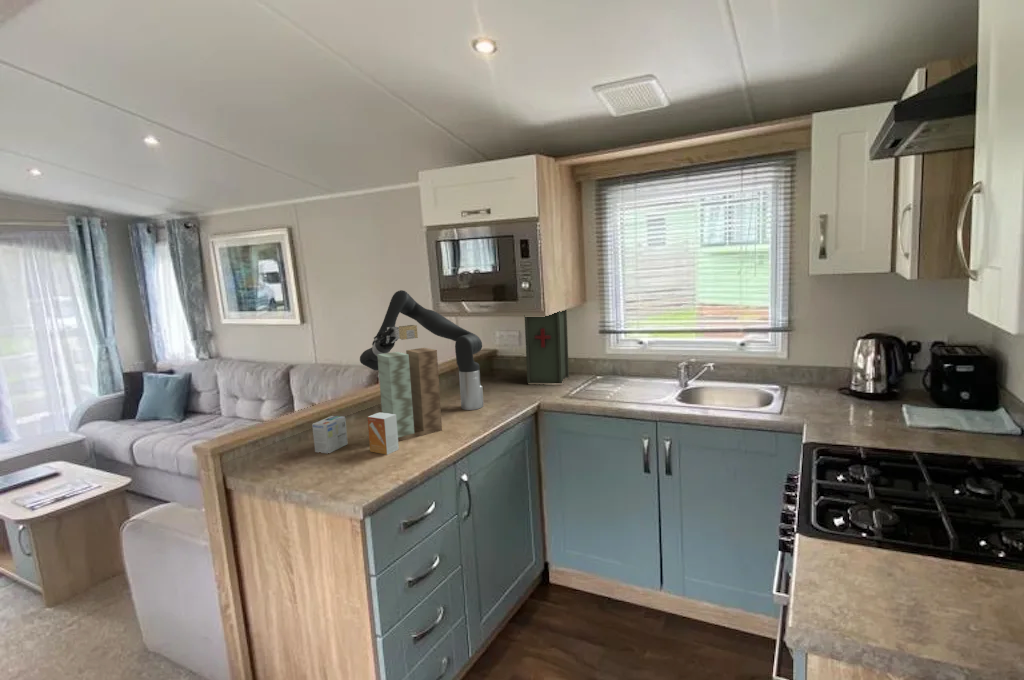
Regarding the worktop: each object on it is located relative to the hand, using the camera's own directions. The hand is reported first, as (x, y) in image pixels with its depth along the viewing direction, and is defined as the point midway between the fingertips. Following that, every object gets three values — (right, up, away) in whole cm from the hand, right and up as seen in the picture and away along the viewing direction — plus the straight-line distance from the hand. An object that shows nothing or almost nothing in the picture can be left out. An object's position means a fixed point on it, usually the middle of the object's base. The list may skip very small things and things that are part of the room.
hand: (396, 328), depth 224 cm
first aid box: (+68, -27, +66) cm, 99 cm away
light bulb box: (-18, -44, -28) cm, 55 cm away
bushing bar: (+2, -3, -2) cm, 5 cm away
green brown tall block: (+10, -41, -14) cm, 45 cm away
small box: (+3, -44, -33) cm, 55 cm away
